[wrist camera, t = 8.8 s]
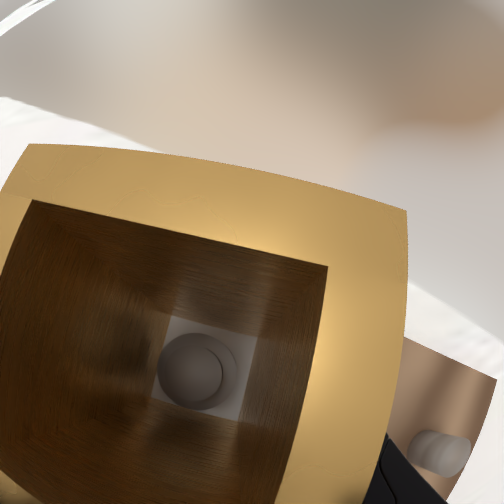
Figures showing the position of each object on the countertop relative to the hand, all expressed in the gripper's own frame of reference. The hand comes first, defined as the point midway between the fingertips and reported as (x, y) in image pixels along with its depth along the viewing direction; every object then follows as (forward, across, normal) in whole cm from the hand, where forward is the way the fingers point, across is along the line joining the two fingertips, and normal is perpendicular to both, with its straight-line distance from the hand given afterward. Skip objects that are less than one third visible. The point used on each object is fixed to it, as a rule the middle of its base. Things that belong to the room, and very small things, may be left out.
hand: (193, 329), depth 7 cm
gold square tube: (+3, 0, +4) cm, 5 cm away
